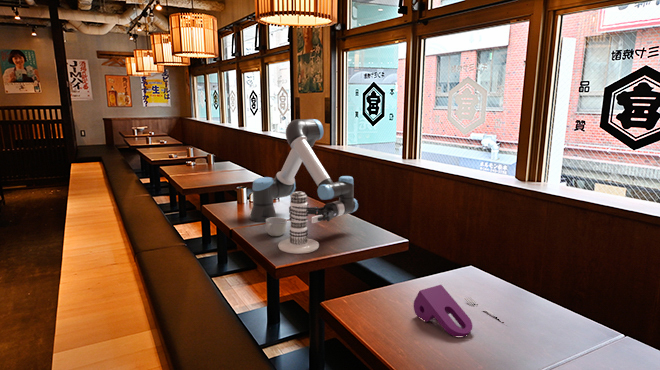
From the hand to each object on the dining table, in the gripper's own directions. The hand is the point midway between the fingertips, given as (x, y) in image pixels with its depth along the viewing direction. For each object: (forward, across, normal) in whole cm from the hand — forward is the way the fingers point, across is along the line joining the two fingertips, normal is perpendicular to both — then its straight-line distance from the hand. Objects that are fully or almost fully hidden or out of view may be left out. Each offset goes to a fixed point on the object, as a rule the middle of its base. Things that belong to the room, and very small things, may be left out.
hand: (301, 217), depth 202 cm
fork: (0, -94, -15) cm, 95 cm away
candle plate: (+2, 0, -14) cm, 14 cm away
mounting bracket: (+16, -85, -14) cm, 88 cm away
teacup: (-1, +22, -14) cm, 26 cm away
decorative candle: (+2, 0, -13) cm, 13 cm away
